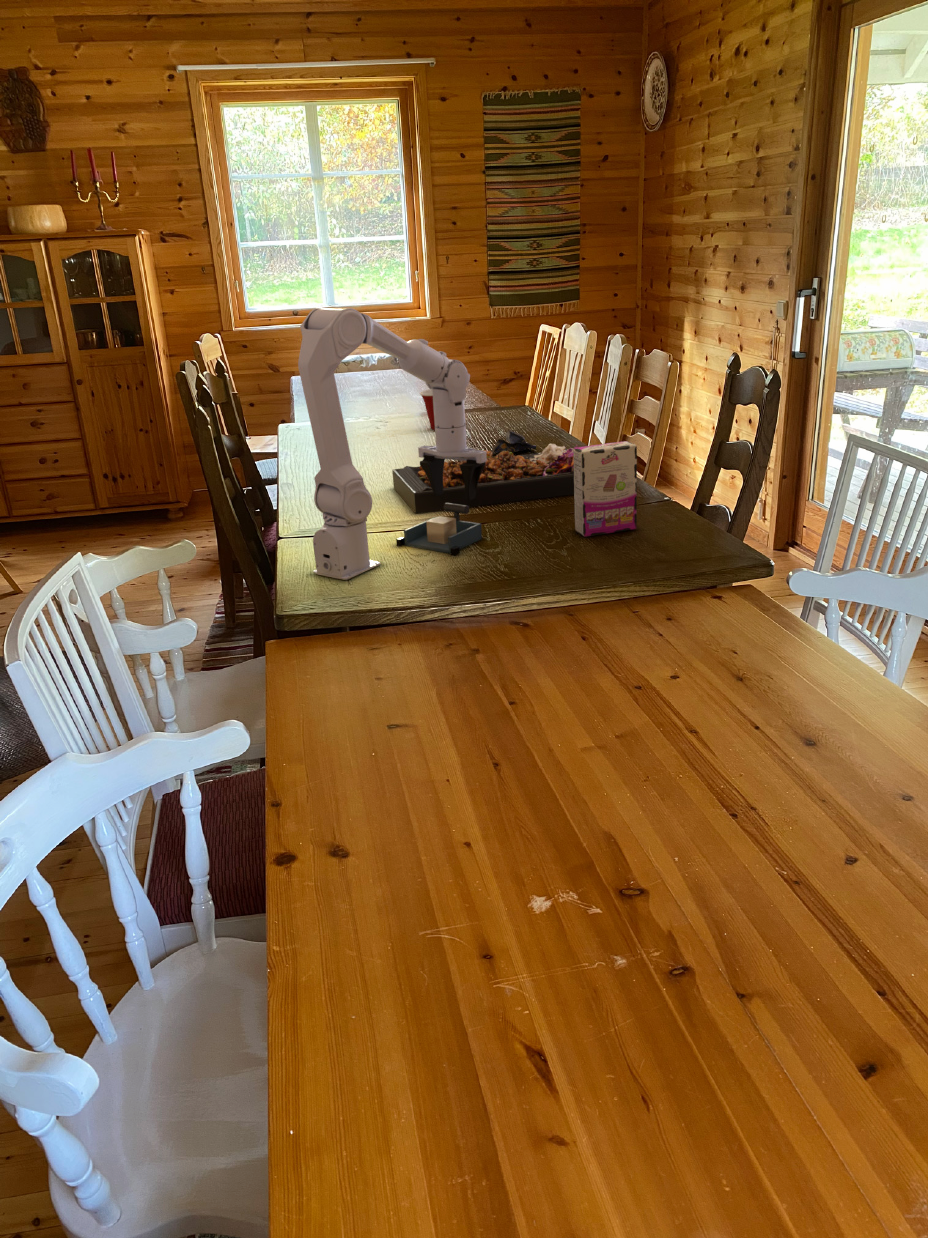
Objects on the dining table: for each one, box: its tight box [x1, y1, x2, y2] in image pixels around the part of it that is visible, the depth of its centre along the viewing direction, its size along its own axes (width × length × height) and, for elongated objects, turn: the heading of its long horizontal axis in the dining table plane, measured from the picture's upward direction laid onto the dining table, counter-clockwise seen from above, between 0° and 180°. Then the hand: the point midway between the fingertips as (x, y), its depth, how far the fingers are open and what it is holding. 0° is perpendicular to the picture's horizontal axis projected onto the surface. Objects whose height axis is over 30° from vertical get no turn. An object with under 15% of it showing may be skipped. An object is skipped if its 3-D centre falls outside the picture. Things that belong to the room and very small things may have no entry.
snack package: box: [490, 430, 537, 456], centre depth 246 cm, size 12×6×12 cm
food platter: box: [391, 443, 578, 514], centre depth 209 cm, size 45×25×10 cm, turn 105°
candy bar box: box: [573, 440, 638, 538], centre depth 173 cm, size 11×5×16 cm, turn 106°
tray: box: [403, 503, 483, 554], centre depth 174 cm, size 10×11×6 cm
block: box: [425, 515, 457, 544], centre depth 173 cm, size 4×4×4 cm
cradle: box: [395, 536, 461, 557], centre depth 171 cm, size 2×14×1 cm, turn 54°
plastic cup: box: [419, 388, 435, 431], centre depth 283 cm, size 11×11×12 cm
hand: (454, 496), depth 175 cm, fingers open, 7 cm apart
